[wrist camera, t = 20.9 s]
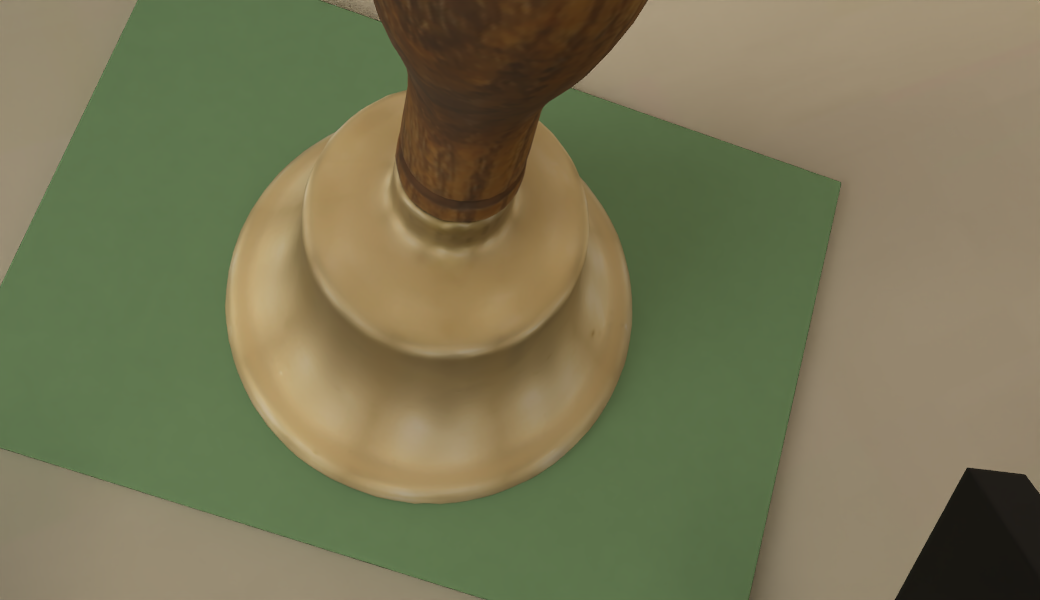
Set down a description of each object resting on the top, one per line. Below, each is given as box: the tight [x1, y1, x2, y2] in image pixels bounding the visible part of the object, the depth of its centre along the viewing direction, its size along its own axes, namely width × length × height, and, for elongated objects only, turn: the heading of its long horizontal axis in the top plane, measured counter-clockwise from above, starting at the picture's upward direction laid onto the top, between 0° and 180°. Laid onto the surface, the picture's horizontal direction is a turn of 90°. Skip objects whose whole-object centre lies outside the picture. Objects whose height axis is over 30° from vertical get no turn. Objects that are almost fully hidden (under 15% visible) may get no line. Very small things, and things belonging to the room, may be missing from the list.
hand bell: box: [225, 0, 648, 504], centre depth 11 cm, size 8×8×16 cm
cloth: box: [0, 0, 841, 600], centre depth 19 cm, size 16×11×1 cm
